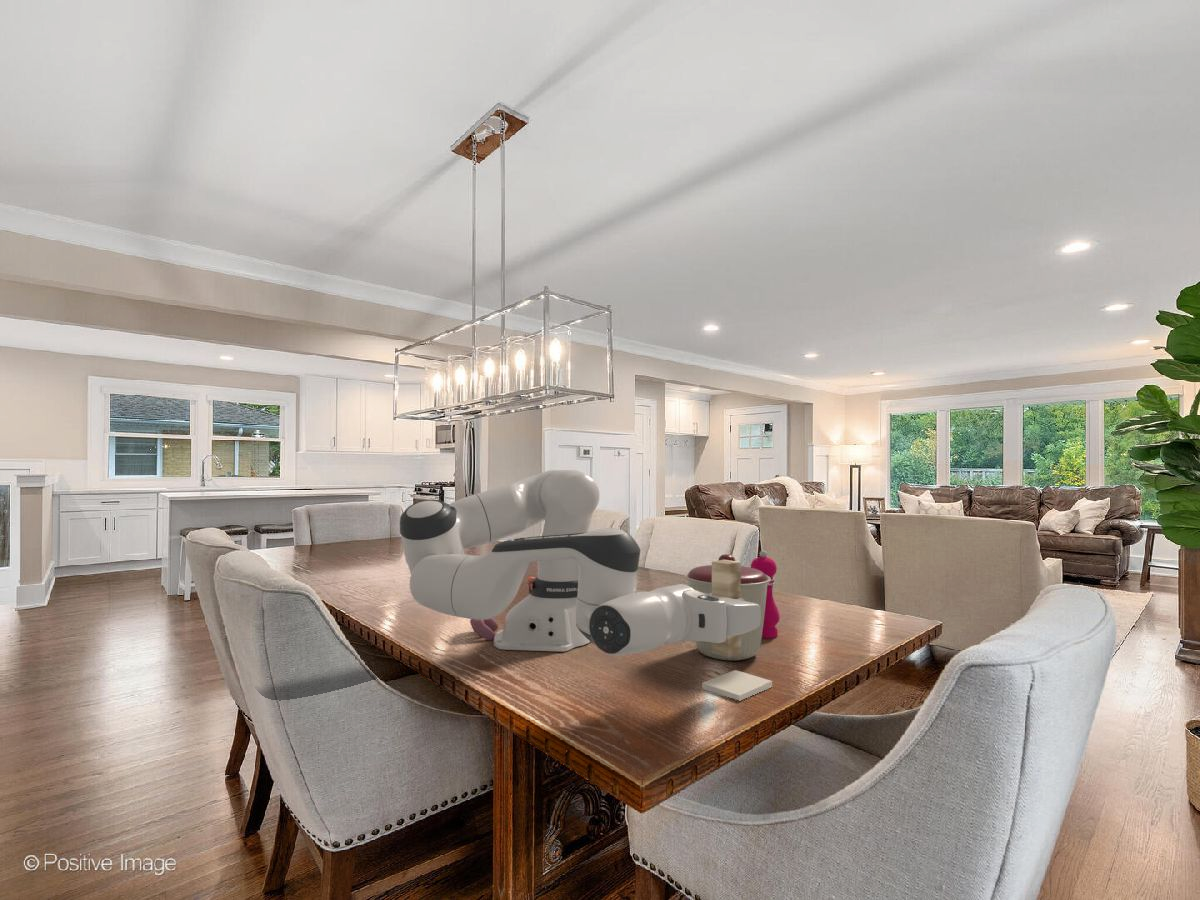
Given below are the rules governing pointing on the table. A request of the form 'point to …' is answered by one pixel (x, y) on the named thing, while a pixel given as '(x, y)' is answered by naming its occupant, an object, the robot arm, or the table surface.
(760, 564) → the pepper mill
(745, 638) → the canister
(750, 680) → the tile
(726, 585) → the block
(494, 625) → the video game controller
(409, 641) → the table surface
